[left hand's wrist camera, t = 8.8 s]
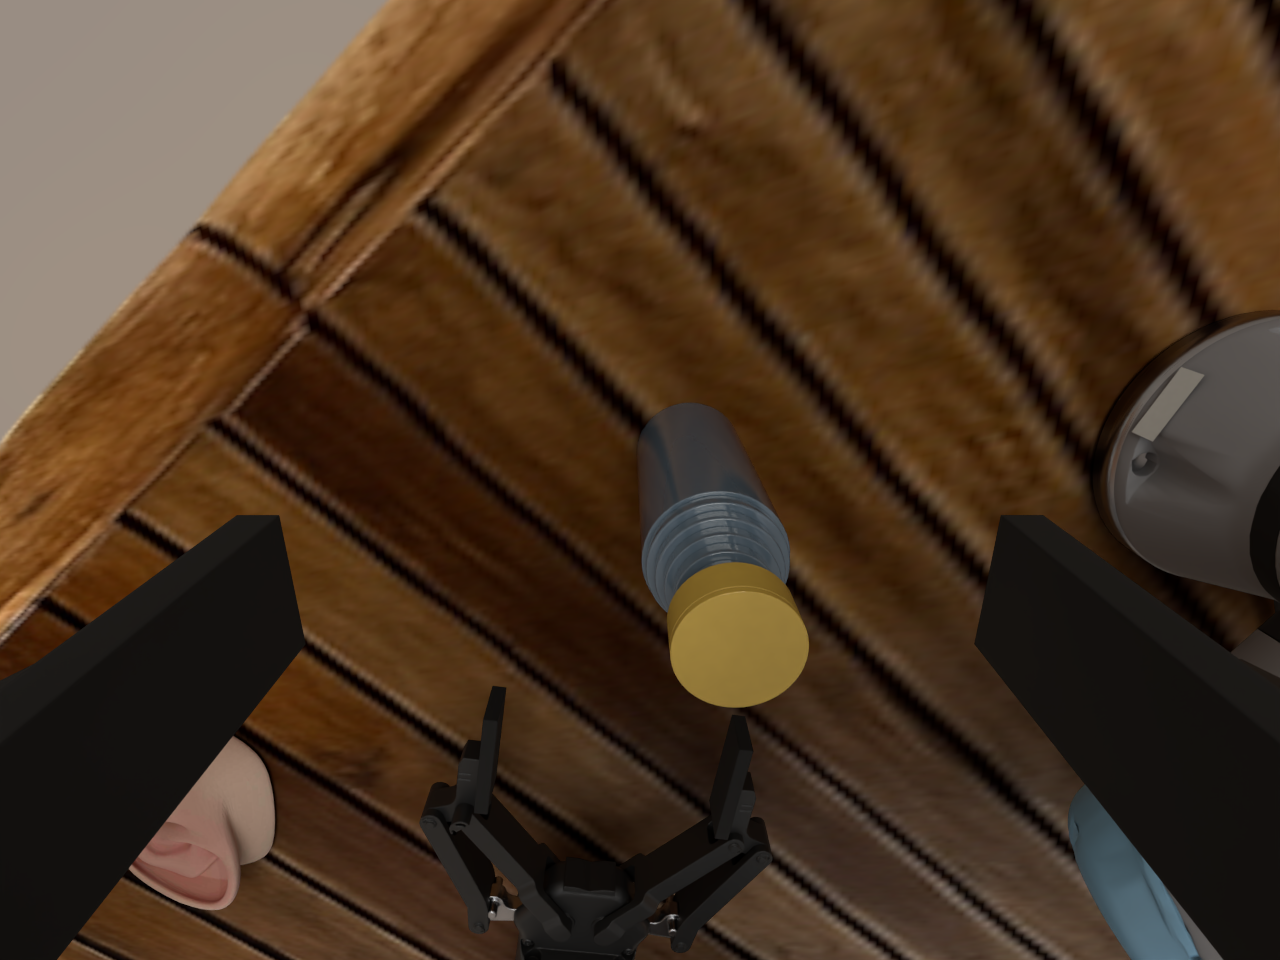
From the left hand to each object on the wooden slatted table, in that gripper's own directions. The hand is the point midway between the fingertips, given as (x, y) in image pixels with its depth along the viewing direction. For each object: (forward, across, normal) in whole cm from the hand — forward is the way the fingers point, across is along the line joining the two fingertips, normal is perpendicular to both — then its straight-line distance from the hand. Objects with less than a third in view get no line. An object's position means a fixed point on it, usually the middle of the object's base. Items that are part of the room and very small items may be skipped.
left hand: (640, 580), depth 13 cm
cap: (+7, -3, +6) cm, 10 cm away
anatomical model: (+25, +30, +30) cm, 50 cm away
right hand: (+19, +1, +19) cm, 27 cm away
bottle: (+25, -3, +6) cm, 26 cm away
